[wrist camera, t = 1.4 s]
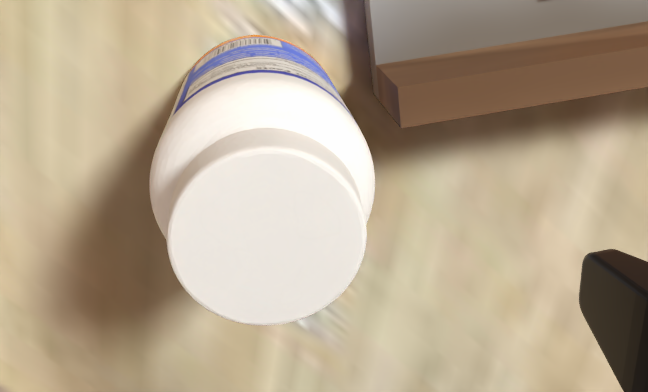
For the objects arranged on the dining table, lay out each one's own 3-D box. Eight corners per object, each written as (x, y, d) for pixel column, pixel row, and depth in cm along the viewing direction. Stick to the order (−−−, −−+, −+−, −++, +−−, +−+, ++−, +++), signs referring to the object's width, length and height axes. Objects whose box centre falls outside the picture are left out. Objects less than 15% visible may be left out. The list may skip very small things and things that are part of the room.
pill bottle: (294, 208, 23) (329, 389, 14) (151, 150, 21) (88, 312, 12) (364, 74, 21) (455, 183, 12) (215, 0, 19) (195, 63, 11)
